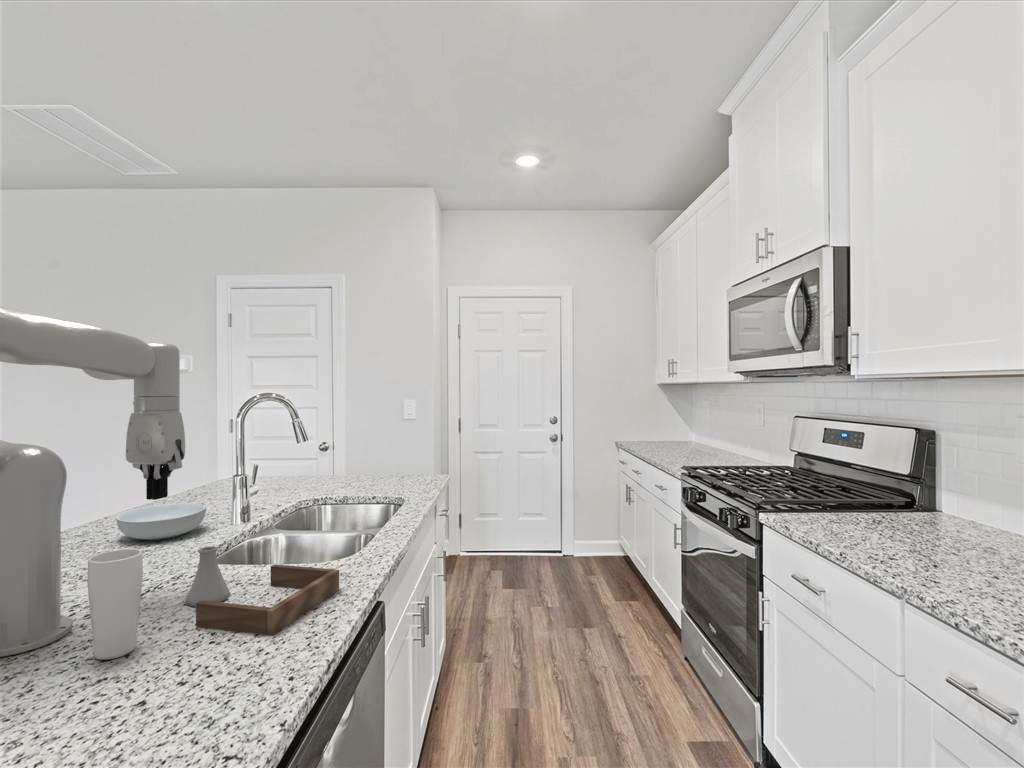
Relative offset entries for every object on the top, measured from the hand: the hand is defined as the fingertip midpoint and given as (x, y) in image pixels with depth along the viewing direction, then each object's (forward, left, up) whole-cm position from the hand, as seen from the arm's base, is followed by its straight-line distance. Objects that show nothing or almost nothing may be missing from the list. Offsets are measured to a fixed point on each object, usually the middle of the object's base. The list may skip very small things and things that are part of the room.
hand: (157, 498), depth 103 cm
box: (0, -26, -19) cm, 32 cm away
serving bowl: (+35, +36, -19) cm, 54 cm away
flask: (0, -12, -19) cm, 23 cm away
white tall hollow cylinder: (-20, -14, -19) cm, 31 cm away
